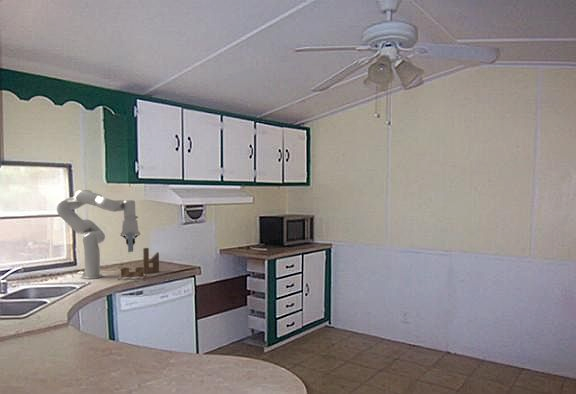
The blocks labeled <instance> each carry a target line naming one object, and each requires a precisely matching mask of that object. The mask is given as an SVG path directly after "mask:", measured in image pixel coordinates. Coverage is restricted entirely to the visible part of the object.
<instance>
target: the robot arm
mask: <svg viewBox="0 0 576 394" xmlns="http://www.w3.org/2000/svg"><path fill="white" fill-rule="evenodd" d="M84 205H91V206H94V207H97V208H100V209H102V210H105V211H109V212H112V213H113V212H121V211H123V220H122V226H121V229H122V230H121V233H120V234H119V236H120V237H122V238H124V239H125V243H126V245H127V246H128V234H133V246H134V245H135V244H136V238H138V237H139V236H140V235H141V233H140V230H139V225H138V224H139V223H138V220H137V219H139V217H138V215H136V202H135V200H133V199H131V200H130V199H129V200H127V199H126V200H122V199H120V200H119V199H116V200H113V199H111V198H110V199H109V198H106V197H103V195H102V194H101V193H96V192H93V191H92V190H91V189H79V190H77V191H76V192H75V194H74V196H71V197H63V198H61V199H59V200H58V201H57V204H56V211H57V214H58V215H59V217H60V218H61V219H62V220H64V222H65V223H66V224H67V225H68V226H69V227H70V228H72V230H73V231H74V232H75V233H76V234H78V235H83V234H84V235H83V237H82V243H83V252H84V253H83V254H84V271H78V275H79V276H80V275H82V276H81V277H82V279H84V280H85V279H86V280H87V279H88V280H93V279H99V278H102V277H103V274H102V273H101V269H100V268H101V263H100V262H101V256H100V254H101V253H100V246H99V244H101V243H103V242H104V240H105V239H106V238H105V237H106V235H105V233H104V232H103V230H101V228H100V227H99V226H98V225H97V224H96V223H95V222H94V221H92V220H90V219H82V217H80V216H79V215H78V214H77V213H76V212H74V211H73V210H77V209H79V208H81V207H82V206H84Z"/></svg>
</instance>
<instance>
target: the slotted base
mask: <svg viewBox="0 0 576 394" xmlns="http://www.w3.org/2000/svg"><path fill="white" fill-rule="evenodd" d="M143 268H144V266H136V267H135V271H130V267H128V266H125V267H120V276H119V277H118V278H117V280H118V281H128V280H129V279H135V280H143V279H145V277H147V273H145V274H144V273H143Z"/></svg>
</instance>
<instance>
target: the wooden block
mask: <svg viewBox="0 0 576 394" xmlns="http://www.w3.org/2000/svg"><path fill="white" fill-rule="evenodd" d="M149 251H150V249H149V248H148V247H144V248H143V257H142V258H143V259H142V260H143V274H151V273H159V272H160V253H159V252H158V251H157V252H155V254H154V255H153V256H152V257H151V258H150V255H149V253H150V252H149ZM150 264H152V266H150Z"/></svg>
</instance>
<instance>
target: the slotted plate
mask: <svg viewBox="0 0 576 394" xmlns="http://www.w3.org/2000/svg"><path fill="white" fill-rule="evenodd" d="M127 251H128V253H130V252H131V253H133V252H134V245H133V234H128V245H127Z"/></svg>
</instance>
